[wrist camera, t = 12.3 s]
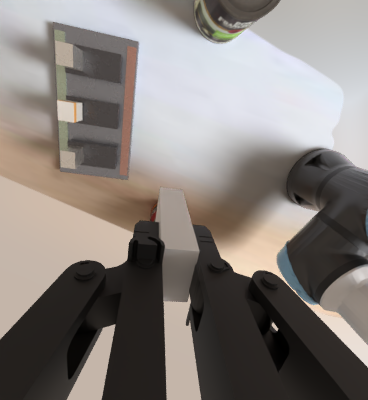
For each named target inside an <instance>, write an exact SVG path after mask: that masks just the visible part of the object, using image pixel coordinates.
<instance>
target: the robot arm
mask: <svg viewBox="0 0 368 400" xmlns="http://www.w3.org/2000/svg"><path fill="white" fill-rule="evenodd" d="M287 191H288V194H289V196H290V198H291V199H292V200H293V201H294V202H295V203H297V204H298V205H299V206H301V207H303V208H306V209H310V210H315V211H319V212H318V213H317V214H316V215H315V216H314V217H313V218H312V219H311V220H310V221H309V222H308V223H307V224H306V225H305V226H304V227H303V228H302V229H301V230H300V231H299V232H298V233H297V234H296V235H295V236H294V237H293V238H292V239H291V240H290V241H287V242H286V244H285V246H284V247H283V248H282V249H281V250H280V252H279V253H278V254H277V265H278V268H279V270H280V272H281V274H282V275H283V277H284V278H285V280H286V281H287V282H288V284H289V285H290V286H291V288H292V289H293V290H296V292H297V294H298V295H299V296H300V297H301V298H302V299H303V300H305V301H306V302H307V303H309V304H312V305H316V304H319V305H320V306H321V307H322V308H323V309H324V310H328V311H333V312H337V313H339V314H340V315H341V316H342V318H343V319H344V320H345V321H346V322H347V323H348V324H349V325H350V326H351V327H352V328H353V330H354V331H355V332H356V333H357V334H358V335H359V336H360V337H361V338H362V339H363V340H364V342H365V343H366V344H367V345H368V171H367V170H364V169H361V168H358V167H356V166H355V165H353V163H352V162H350V161H349V160H348V159H347V158H346V157H345V156H344V155H342V154H341V153H339V152H336V151H333V150H329V149H319V150H315V151H312V152H310V153H308V154H306V155H305V156H303V157H302V158H301V159H300V160H299V161H298V162H297V163H296V164H295V165H294V167H293V168H292V170H291V172H290V174H289V177H288V181H287ZM291 288H290V287H289V286H288V285H287V284H286V283H285V282H284V281H283V280H282V279H281V278H279V277H278V276H277V275H275V274H273V273H271V272H268V271H256V272H255V273H254V274H253V276H252V278H250V277H247V276H243V275H240V274H237V273H235V272H234V271H233V269H232V267H231V266H230V264H229V263H228V262H226V261H225V260H223V259H221V257H220V255H219V252H218V250H217V247H216V245H215V243H214V239H213V238H212V234H211V232H210V231H209V230H208V229H207V228H206V227H205V226H200V225H192V222H191V218H190V215H189V211H188V208H187V204H186V200H185V197H184V193H183V190H181V189H172V188H164V187H160V190H159V198H158V205H157V212H156V220H155V222H151V221H139V222H138V223H137V224H136V225H135V229H134V234H133V238H132V239H131V240H130V242H129V249H128V260H127V261H126V262H125V263H123V264H122V265H119V266H117V267H113V268H107V269H105V267H104V266H103V265H102V264H101V263H99V262H96V261H90V260H86V261H80V262H77V263H75V264H72V265H71V266H70V267H68V268H67V269H66V270H65V271H64V272H63V273H62V274H61V275H60V276H59V277H58V279H57V280H56V281H55V282H54V283H53V284H52V285H51V286H50V287H49V288H48V289H47V290H46V291H45V292H44V294H43V295H42V296H41V297H40V298H39V299H38V300H37V301H36V302H35V303H34V304H33V305H32V307H30V309H28V311H27V312H26V313H25V314H24V315H23V316H22V317H21V318H20V319H19V320H18V321H17V322H16V324H14V325H13V327H12V328H11V329H10V330H9V331H8V332H7V333H6V334H5V335H4V336H3V337H2V338H1V339H0V400H67V398H68V396H69V394H70V392H71V390H72V388H73V386H74V384H75V382H76V380H77V378H78V376H79V374H80V372H81V370H82V368H83V366H84V364H85V363H86V360H87V359H88V356H89V355H90V353H91V351H92V349H93V347H94V345H95V343H96V341H97V339H98V337H99V335H100V333H101V331H102V328H103V327H107V326H111V325H114V324H116V326H115V331H114V336H113V342H112V347H111V353H110V358H109V364H108V369H107V375H106V380H105V385H104V391H103V396H102V400H166V367H165V337H164V305H163V304H164V303H163V301H176V302H177V301H178V302H187V301H188V297H189V293H190V299H191V304H190V308H189V312H188V316H187V320H186V326H188V325H189V321H190V323H191V330H192V337H193V344H194V351H195V358H196V365H197V372H198V379H199V386H200V393H201V400H368V368H367V366H366V365H365V364H364V363H363V362H362V361H361V360H360V359H359V358H358V357H357V356H356V355H355V354H354V353H353V352H352V351H351V350H350V349H349V348H348V347H347V346H346V345H345V344H344V343H343V342H342V341H341V340H340V339H339V338H338V337H337V335H336V334H335V333H334V332H332V330H331V329H330V328H329V327H328V326H327V325H326V324H325V323H324V322H323V321H322V320H321V319H320V318H319V317H318V316H317V315H316V314H315V313H314V312H313V311H312V310H311V309H310V308H309V307H308V306H307V305H306V304H305V303H304V302H303V301H302V300H301V299H300V298H299V296H298V295H297V294H296V293H295V292H294V291H293V290H292V289H291ZM273 322H274V323H275V325H276V326H277V328H278V331H276V330H275V329H274V328H273V327H272V323H273Z"/></svg>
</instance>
